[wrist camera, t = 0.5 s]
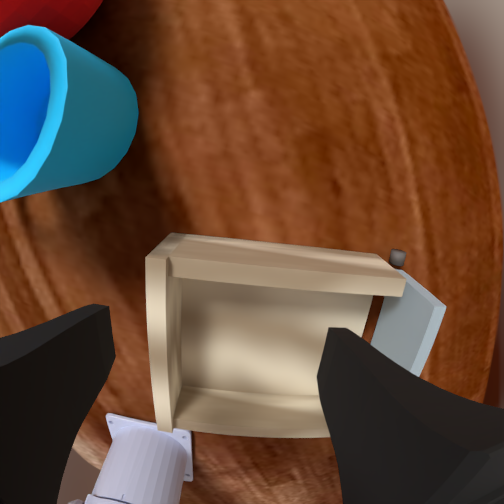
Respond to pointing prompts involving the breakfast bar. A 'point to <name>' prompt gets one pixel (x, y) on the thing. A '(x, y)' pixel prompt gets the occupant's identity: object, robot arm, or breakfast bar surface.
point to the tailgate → (408, 326)
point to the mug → (59, 113)
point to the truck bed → (251, 329)
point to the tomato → (47, 15)
